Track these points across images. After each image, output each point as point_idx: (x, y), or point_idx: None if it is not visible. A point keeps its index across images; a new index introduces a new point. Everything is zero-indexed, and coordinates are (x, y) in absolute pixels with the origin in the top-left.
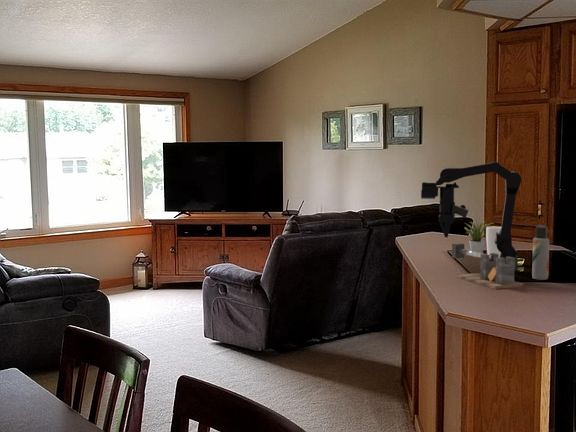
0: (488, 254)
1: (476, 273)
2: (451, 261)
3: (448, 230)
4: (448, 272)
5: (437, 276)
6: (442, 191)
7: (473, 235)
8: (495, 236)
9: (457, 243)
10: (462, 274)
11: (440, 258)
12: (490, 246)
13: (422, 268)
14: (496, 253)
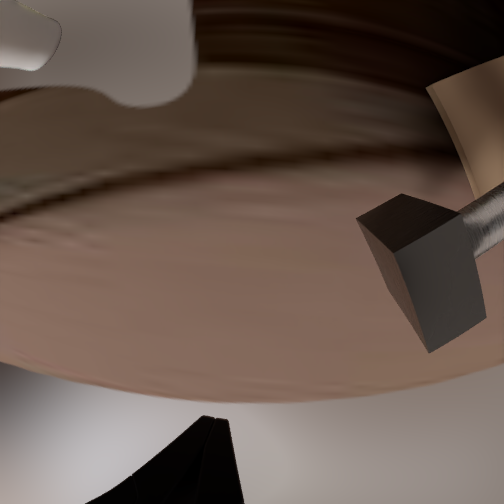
0: (25, 57)
1: (465, 133)
2: (51, 231)
3: (241, 496)
4: (370, 273)
5: None
6: None
7: None
8: None
9: (428, 296)
10: None
11: (15, 273)
12: (4, 37)
13: (259, 383)
14: (37, 18)
